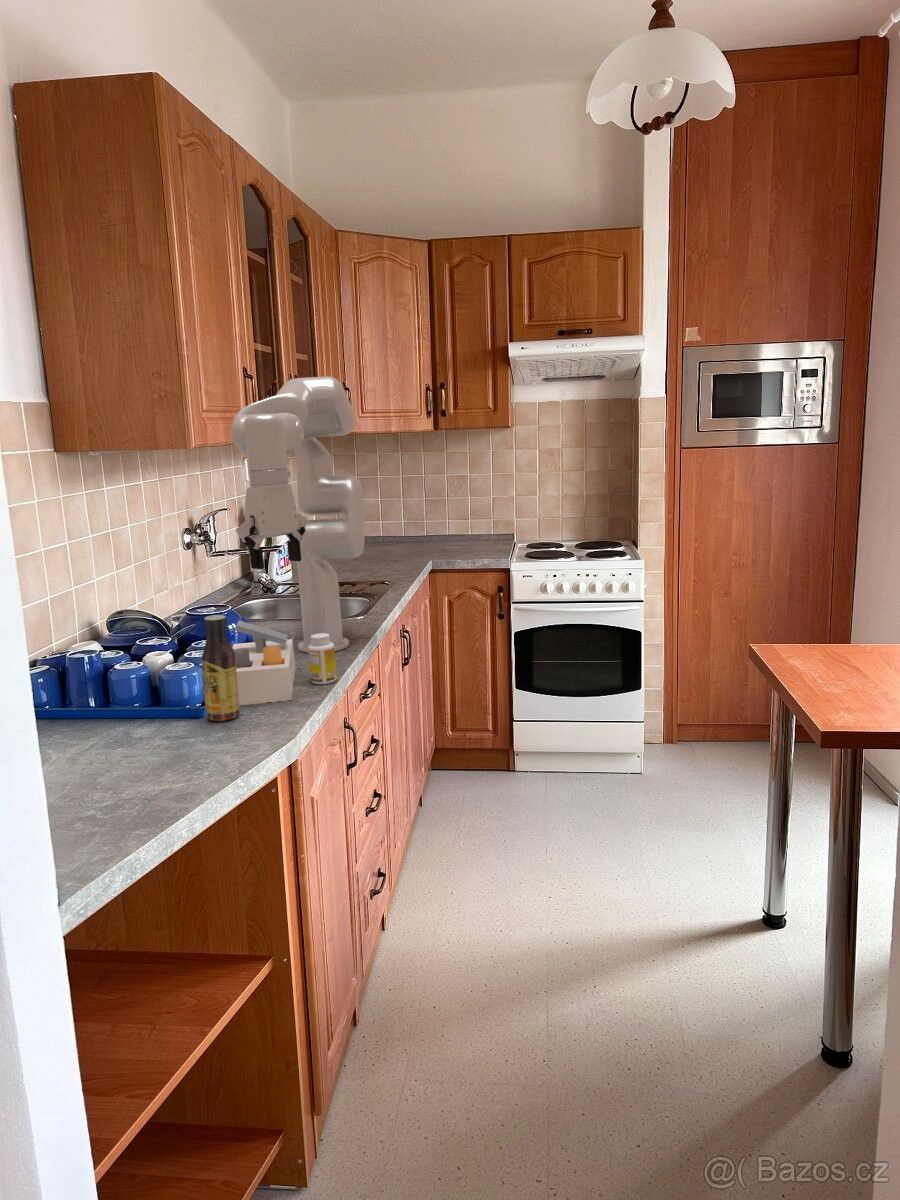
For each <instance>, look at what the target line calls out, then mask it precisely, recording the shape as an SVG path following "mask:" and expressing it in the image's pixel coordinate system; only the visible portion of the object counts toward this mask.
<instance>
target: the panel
mask: <svg viewBox="0 0 900 1200" xmlns="http://www.w3.org/2000/svg"><path fill="white" fill-rule="evenodd" d="M267 646H280V647H281V656H282V664H279V665H267V666H264V657H263V648H264V647H267ZM232 648H233V650H234V649H240V648H247V649H249V657H250V667H244V668H236V672H237V685H238V697H239V706H248V705H249V706H250V705H259V704H260V705H261V704H268V703H267V702H272V703H278V702H277V701H283V702H288V701H287V700H293V690H294V684H293V683H294V682H295V673H296V662H295V653H294V639H293V638H289V639H288V638H287V641H286V644H285V645H282V644H279V643H275V642H272V641H269V640H265V639H263V636H259V637H255V636H254V641H253V642H244V643H243V642H241V643H234V644H233V645H232Z"/></svg>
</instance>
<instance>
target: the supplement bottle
mask: <svg viewBox="0 0 900 1200" xmlns="http://www.w3.org/2000/svg"><path fill="white" fill-rule="evenodd" d="M311 643H312V644H310V645H309V646H308V653H307V654H308V661H309V662H308V663H309V664H308V665H309V673H310V675H309V676H310V681H311V683H312V684H315V685H328V684H332V683H335V682H336V681H337V678H338V676H337V675H338V674H337V663H336V653H335V652H336V651H335V650H334V644H333V643H332V642H330V636H329V634H327V633H319V634H314V635H312V636H311Z"/></svg>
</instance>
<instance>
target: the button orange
mask: <svg viewBox="0 0 900 1200" xmlns="http://www.w3.org/2000/svg"><path fill="white" fill-rule="evenodd" d="M263 657H264V666H267V665H279V664H282V656H281V647H280V646H267V647H264V648H263Z"/></svg>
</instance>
